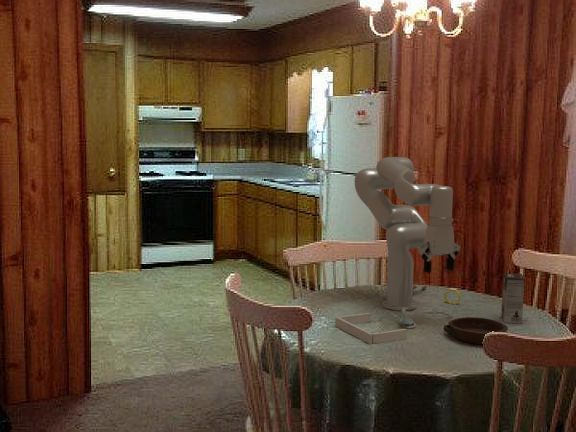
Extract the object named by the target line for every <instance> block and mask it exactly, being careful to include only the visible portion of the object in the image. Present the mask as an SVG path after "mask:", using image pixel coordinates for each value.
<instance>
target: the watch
mask: <svg viewBox="0 0 576 432" xmlns="http://www.w3.org/2000/svg"><path fill="white" fill-rule="evenodd" d="M448 292H455V293H457V295H458V300H457V302H451V301H450V300H448V298H447V294H448ZM461 297H462V296H461V294H460V292H459V290H458V289H457V288H455V287H450V288H449V289H448V290H446V292H445V293H444V300H445V302H446V303H447V304H450V305H457V304H459V302H460V301H461V299H462V298H461Z"/></svg>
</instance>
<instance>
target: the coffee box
mask: <svg viewBox="0 0 576 432" xmlns="http://www.w3.org/2000/svg"><path fill="white" fill-rule="evenodd" d="M502 274H503V275H502V293H501V295H502V296H501V297H502V298H501V312H500V313H501V315H500V316H501V318H502V321H503V324H519V325H520V324H523V315H524V314H523V311H524V310H523V309H524V295H525V278H524V276H523V274H522V273H509V272H503V273H502Z"/></svg>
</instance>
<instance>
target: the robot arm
mask: <svg viewBox="0 0 576 432" xmlns="http://www.w3.org/2000/svg"><path fill="white" fill-rule="evenodd" d="M375 167H376V168H373V167H371V168H365V169H361V170H359V171H358V172H357V173H356V174H355V176H354V189H355V192H356V194H357V196H358V198H360V199H359V200H361V201H362V203H363V204H364V205H365V206H366V207H367V208H368V210H369V211H370V212H371V214H372V216H373V217H374V218H375V220H376V221H377V223H378V224H379V225H380V227H381V228H382V229H384V230H387V231H386V232H385V239H386V240H385V241H386V247H387V288H386V289H387V291H386V292H385V293H383V294H382V295H383V297H384V298H385V300H384V301H383V302H382V306H383V308H384V309H388V310H392V311H400V312H401V311H402V309H403V308H405V310H406V312H407V311H411V310H412V311H413V310H415V309H416V308H417V303H416V302H414V301H413V299H414V298H413V296H414V295H413V285H414V265H415V264H414V258H413V256H412V254H411V252H410V250H412V249H417V250H418V253H419V256H420V257H421V259H422V261H423V272H424V273H427V274H431V273H432V261H431V260H432V258H433V257H434V256H447V257H446V262H445V263H446V264H445V265H446V266H445V269H446V270H447V271H452V272H453V271H454V269H455V268H454V267H455V259H456V257H457V256H458V255H459V251H460V249H461V245H459V244H458V243H456V242H455V233H454V226H453V222H454V218H453V204H454V203H453V200H454V199H453V198H454V197H453V195H454V190H453V187H451V186H448V185H440V184H436V183H417V184H416V183H415V184H414V181H415V177H416V176H415V172H414V171H415V166H414V164H413V161H412V160H411V159H410V158H408V157H406V156H387V157H386V156H385V157H383V158H381V159H379V160H378V162H377V164H376V166H375ZM390 189H394V192H395V195H396V197H397V198H398V199H399V200H400V201H401V202H403V203H405V204H393V203H392V201H390V198H388V196H387V195H386V194H385V193H383V192H381V191H380V190H390ZM417 206H420V207H421V206H429V219H428V220H429V221H428V222H429V224H428V223H427V222H426V220H424V218H423V217H422V216H421V214H420V213H419V212H418V210H417V209H416V208H415V207H417Z"/></svg>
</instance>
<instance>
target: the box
mask: <svg viewBox="0 0 576 432" xmlns="http://www.w3.org/2000/svg"><path fill="white" fill-rule="evenodd" d="M371 317H372V316H371V312H365V313H355V314H349V315H342V316H341V315H340V316H335V318H334V326H335V327H337V328H339V329H340V330H342V331H345V332H346V333H349V334H350V335H352V336H354V337H356V338H357V339H359V340H361V341H364V342H365V343H367V344H369V345H374V344H383V343H387V342H388V343H390V342H394V341H401V340H407V333H408V331H407V328H402V329H394V330H387V331H378V332H374V333H372V332H370V331H368V330H366V329H363V328H361V327H360V326H357V325H358V324H364V323H365V324H366V323H371Z"/></svg>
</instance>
